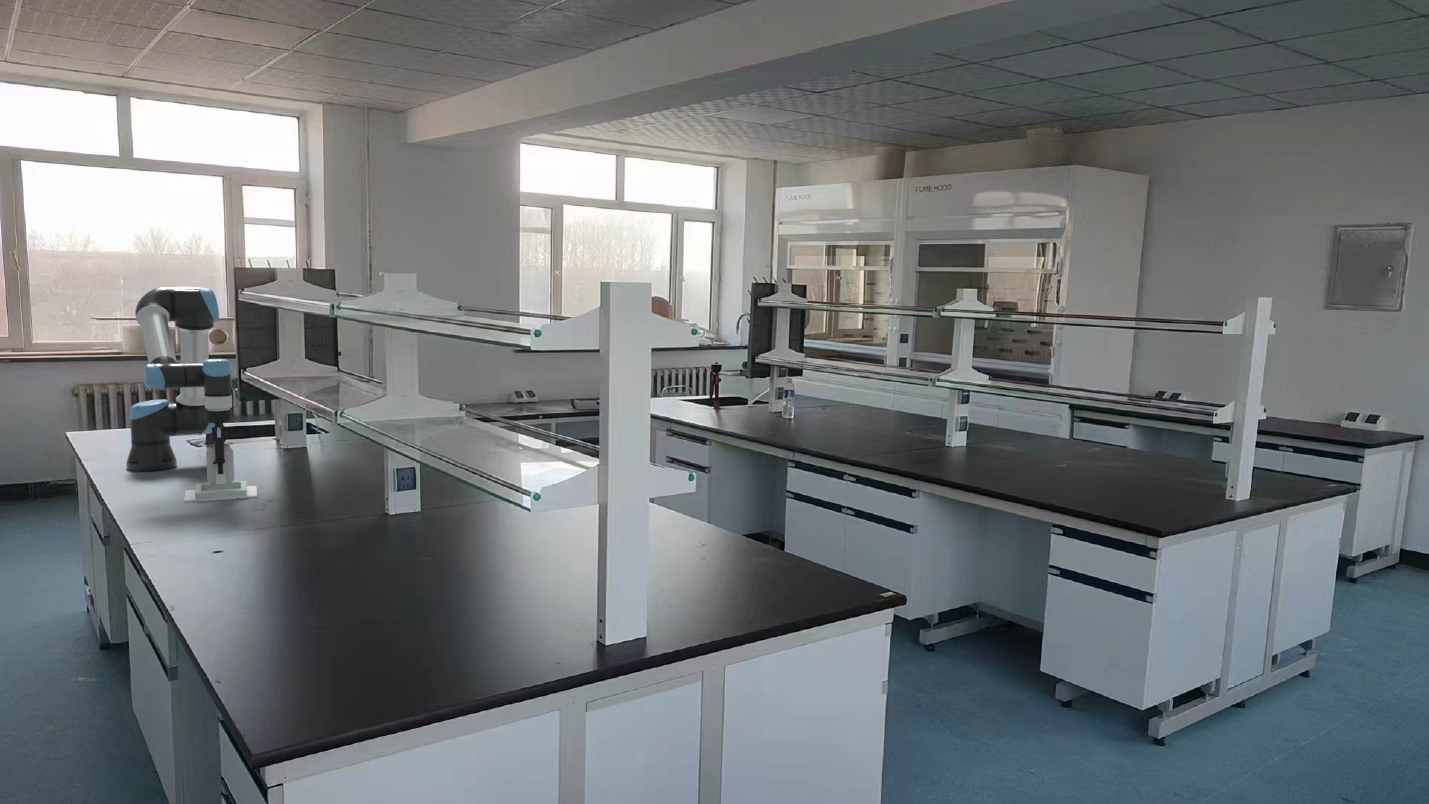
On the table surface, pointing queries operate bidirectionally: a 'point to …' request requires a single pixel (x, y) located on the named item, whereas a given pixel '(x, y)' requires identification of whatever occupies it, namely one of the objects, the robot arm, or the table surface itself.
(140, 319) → the robot arm
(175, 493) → the table surface
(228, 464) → the can
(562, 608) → the table surface
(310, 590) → the table surface
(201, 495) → the green and white tray
